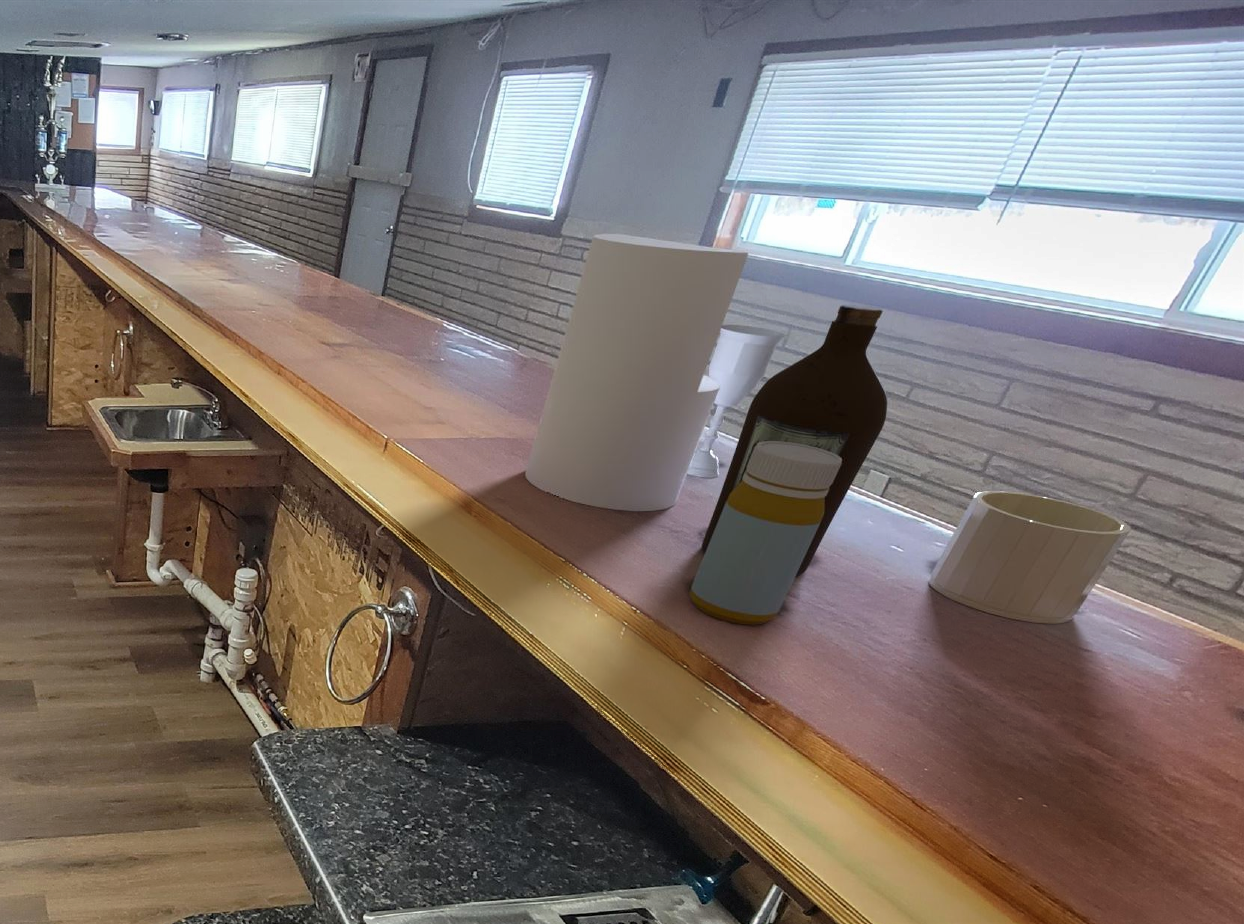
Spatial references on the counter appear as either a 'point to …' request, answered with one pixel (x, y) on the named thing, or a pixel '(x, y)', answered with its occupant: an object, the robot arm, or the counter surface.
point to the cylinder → (634, 373)
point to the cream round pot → (1027, 556)
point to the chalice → (733, 381)
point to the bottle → (764, 532)
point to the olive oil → (818, 411)
